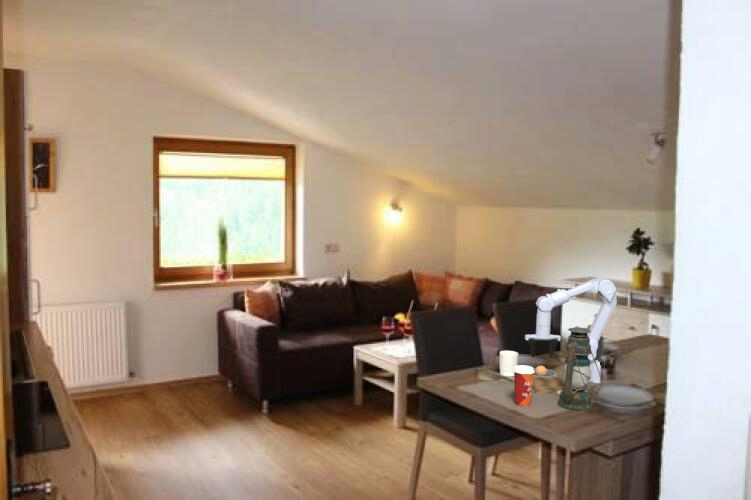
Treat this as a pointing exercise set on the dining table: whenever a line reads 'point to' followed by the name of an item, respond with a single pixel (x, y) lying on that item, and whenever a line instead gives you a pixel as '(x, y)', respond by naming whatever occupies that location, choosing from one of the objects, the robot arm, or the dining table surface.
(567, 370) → the lantern
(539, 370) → the ball
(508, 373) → the white cup
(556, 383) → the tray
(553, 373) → the bowl
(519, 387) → the paper cup
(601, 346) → the canister
